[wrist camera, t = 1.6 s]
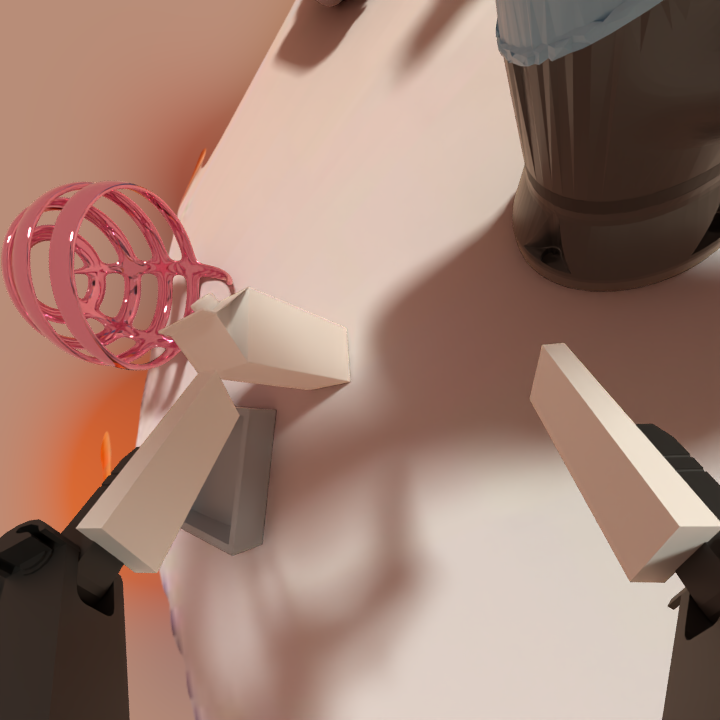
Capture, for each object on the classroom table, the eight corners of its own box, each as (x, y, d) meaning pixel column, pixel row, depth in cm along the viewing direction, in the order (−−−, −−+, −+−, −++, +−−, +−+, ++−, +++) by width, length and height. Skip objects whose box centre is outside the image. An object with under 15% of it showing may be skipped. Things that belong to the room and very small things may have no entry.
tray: (207, 404, 55) (181, 403, 51) (276, 409, 45) (249, 408, 41) (192, 512, 52) (163, 519, 48) (262, 544, 42) (232, 555, 38)
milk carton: (351, 382, 38) (200, 354, 22) (309, 390, 42) (154, 371, 26) (348, 327, 40) (205, 267, 24) (307, 340, 43) (161, 295, 28)
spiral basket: (162, 143, 33) (-88, 126, 33) (166, 397, 37) (-56, 379, 37) (255, 221, 61) (119, 211, 61) (252, 361, 65) (124, 351, 65)
